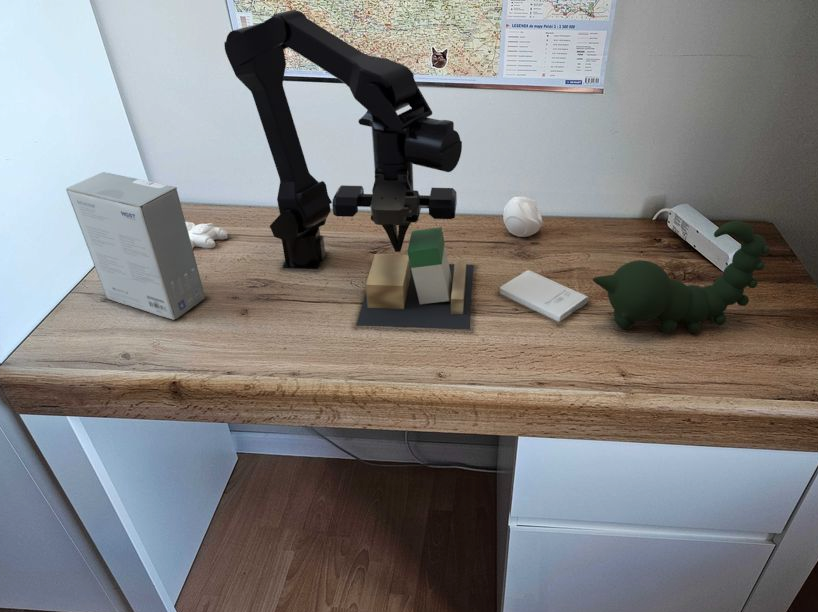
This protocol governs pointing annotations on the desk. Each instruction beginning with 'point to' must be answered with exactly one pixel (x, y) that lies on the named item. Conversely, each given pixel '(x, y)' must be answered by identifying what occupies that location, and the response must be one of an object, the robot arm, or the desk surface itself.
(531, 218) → the white ball
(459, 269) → the ash rail
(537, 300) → the hard drive
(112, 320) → the desk surface
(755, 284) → the toy figurine
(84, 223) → the hard drive box
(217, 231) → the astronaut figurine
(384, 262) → the birch block
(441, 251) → the block
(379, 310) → the desk mat
